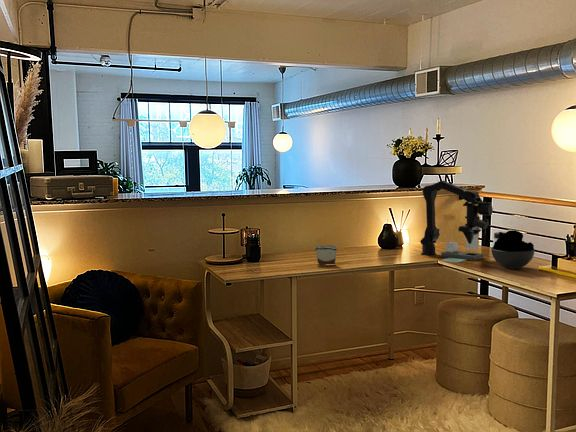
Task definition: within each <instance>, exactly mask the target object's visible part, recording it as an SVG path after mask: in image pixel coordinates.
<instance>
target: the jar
mask: <svg viewBox="0 0 576 432" xmlns="http://www.w3.org/2000/svg"><path fill="white" fill-rule="evenodd" d="M499 232H500V231H498V232H494V233H493V239H492V241H493V242H492V247H493V246H494V242H495V241H497V239H498V238H499V237H500V236H499ZM501 232H502V233H503V234H504V233H506V232H503V231H501Z"/></svg>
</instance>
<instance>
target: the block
mask: <svg viewBox="0 0 576 432" xmlns="http://www.w3.org/2000/svg"><path fill="white" fill-rule="evenodd" d="M445 244H446V246H445V249H446V250H445V251H446V253H458V251H459V242H458V241H457V242H456V241H448V242H446V243H445Z"/></svg>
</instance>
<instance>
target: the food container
mask: <svg viewBox="0 0 576 432" xmlns="http://www.w3.org/2000/svg"><path fill="white" fill-rule="evenodd" d="M314 251H315V252H316V260H317V264H318V263H319V264H335V265H336V258H337V252H338V247H337V246H336V245H332V244H331V245H330V244H329V245H328V244H327V245H326V244H325V245H317V246H315V248H314Z"/></svg>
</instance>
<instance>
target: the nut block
mask: <svg viewBox="0 0 576 432" xmlns="http://www.w3.org/2000/svg"><path fill="white" fill-rule="evenodd" d="M465 242H466V243H465V249H466V250H474V251H475V250H478V249H479V233H478V234H472V239H471V244H469V243H468V241H467V239H466V238H465Z"/></svg>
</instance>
